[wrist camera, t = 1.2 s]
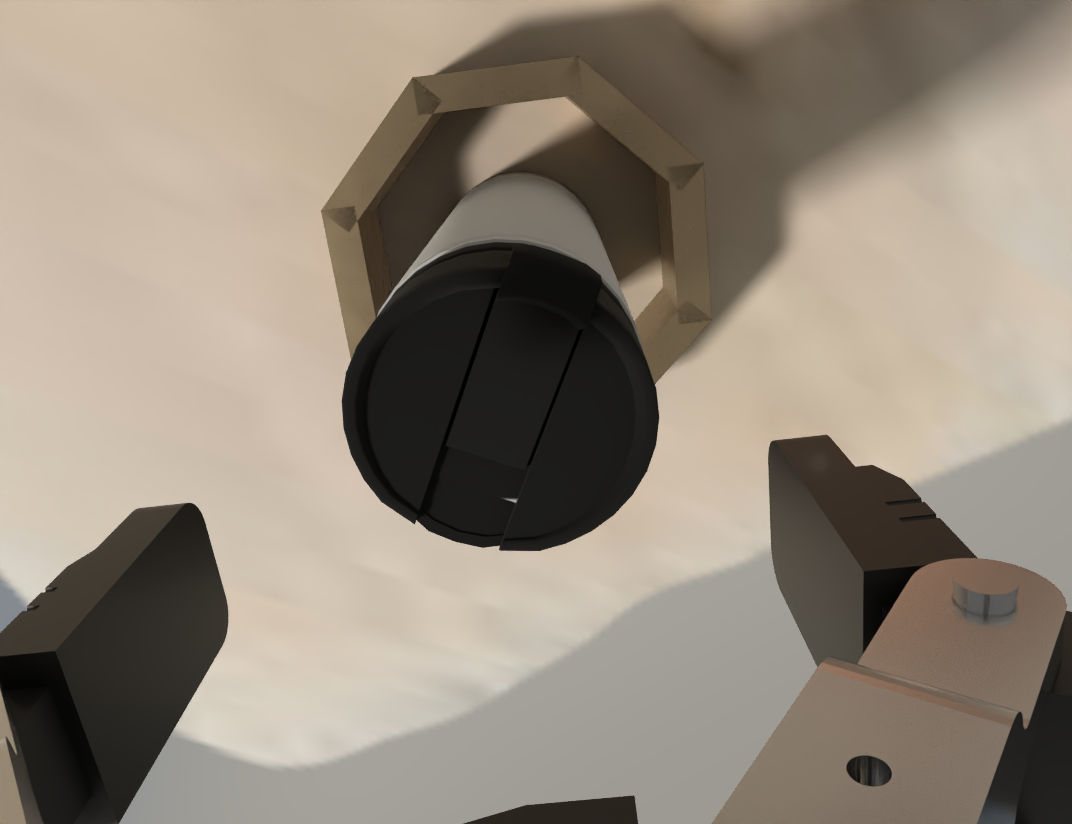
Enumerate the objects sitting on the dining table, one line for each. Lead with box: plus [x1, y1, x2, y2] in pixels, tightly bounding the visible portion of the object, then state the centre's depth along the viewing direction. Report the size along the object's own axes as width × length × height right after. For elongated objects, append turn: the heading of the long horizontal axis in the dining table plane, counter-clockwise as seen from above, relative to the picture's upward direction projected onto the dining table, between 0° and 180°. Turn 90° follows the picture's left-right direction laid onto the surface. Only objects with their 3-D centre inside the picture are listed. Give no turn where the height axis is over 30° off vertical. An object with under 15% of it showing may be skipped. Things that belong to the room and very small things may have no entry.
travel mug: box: [342, 172, 659, 551], centre depth 26 cm, size 6×7×20 cm
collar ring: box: [321, 56, 712, 384], centre depth 33 cm, size 13×13×4 cm
